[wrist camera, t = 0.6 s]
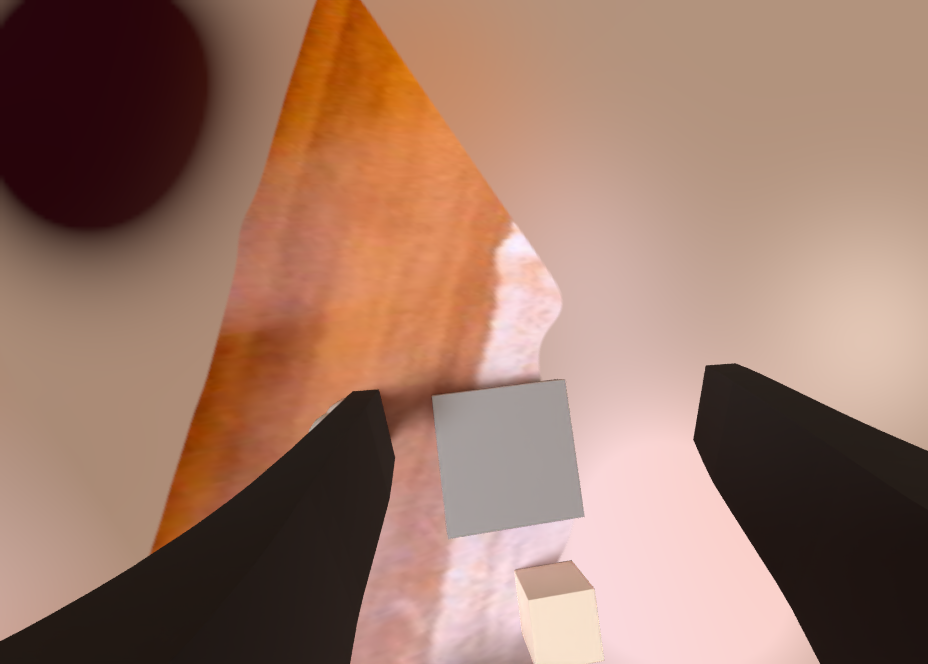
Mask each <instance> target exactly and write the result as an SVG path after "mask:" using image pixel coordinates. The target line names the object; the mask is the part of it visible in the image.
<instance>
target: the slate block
mask: <svg viewBox="0 0 928 664" xmlns="http://www.w3.org/2000/svg"><path fill="white" fill-rule="evenodd" d="M431 396H432V405H433V414H434V422H435V431H436V440H437V449H438V458H439V467H440V476H441V485H442V493H443V502H444V511H445V520H446V529H447V535H448V539H451V538H457V537H464V536H470V535H476V534H482V533H488V532H494V531H500V530H506V529H512V528H519V527H525V526H531V525H537V524H543V523H549V522H555V521H561V520H567V519H573V518H579V517H584V511H583V504H582V496H581V488H580V481H579V475H578V469H577V461H576V453H575V447H574V439H573V432H572V426H571V419H570V412H569V404H568V397H567V390H566V384H565V380H564V379H559V380H558V379H554V380H546V381H540V382H532V383H524V384H516V385H509V386H501V387H493V388H485V389H477V390H469V391H461V392H453V393H445V394H437V395H431Z"/></svg>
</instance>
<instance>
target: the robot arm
mask: <svg viewBox="0 0 928 664" xmlns="http://www.w3.org/2000/svg"><path fill="white" fill-rule="evenodd" d="M693 440H694V442H695V444H696V447H697V449H698V451H699V454H700V456H701V458H702V461H703V463H704V465H705V467H706V469H707V471H708V473H709V475H710V477H711V479H712V481H713V483H714V485H715V486H716V488H717V490H718V491H719V493H720V495H721V496H722V498H723V499H724V501H725V503H726V504H727V506H728V507H729V509H730V511H731V512H732V514H733V515H734V517H735V518H736V520H737V521H738V523H739V525H740V526H741V528H742V529H743V531H744V532H745V534H746V536H747V537H748V539H749V540H750V542H751V544H752V545H753V546H754V548H755V550H756V551H757V553H758V554H759V556H760V558H761V559H762V561H763V562H764V564H765V565H766V567H767V568H768V570H769V572H770V573H771V575H772V576H773V578H774V580H775V581H776V583H777V584H778V586H779V588H780V590H781V591H782V593H783V595H784V596H785V598H786V600H787V601H788V603H789V605H790V606H791V608H792V610H793V612H794V614H795V616H796V618H797V620H798V622H799V624H800V626H801V628H802V629H803V631H804V633H805V635H806V637H807V639H808V641H809V643H810V645H811V647H812V649H813V651H814V653H815V655H816V656H817V659H818V660H819V662H820V664H928V451H927V450H924V449H922V448H919V447H917V446H915V445H913V444H910V443H908V442H906V441H903V440H901V439H899V438H896V437H894V436H892V435H890V434H887V433H885V432H882V431H880V430H878V429H876V428H874V427H871V426H869V425H867V424H865V423H862V422H860V421H858V420H856V419H854V418H852V417H849V416H847V415H845V414H843V413H841V412H839V411H837V410H835V409H833V408H830V407H828V406H826V405H824V404H822V403H820V402H818V401H816V400H814V399H812V398H810V397H808V396H805V395H803V394H801V393H799V392H797V391H795V390H793V389H791V388H789V387H787V386H785V385H783V384H781V383H779V382H777V381H774V380H772V379H770V378H768V377H766V376H764V375H762V374H760V373H757V372H755V371H753V370H751V369H748V368H746V367H743V366H741V365H738V364H735V363H734V364H721V365H707V366H706V367H705V373H704V380H703V385H702V391H701V397H700V403H699V409H698V415H697V421H696V427H695V433H694V439H693ZM394 462H395V455H394V451H393V447H392V443H391V439H390V434H389V430H388V426H387V422H386V418H385V413H384V409H383V405H382V401H381V396H380V392H379V390H366V391H353V392H352V393H351V394H349V395H348V396H347V397H346V398H345V399H344V400H343V401H342V402H341V403H339V404H338V405H337V406H336V407H335V408H334V409H333V410H332V411H331V412H330V413H329V414H328V415H327V416H326V417H325V418H324V419H323V420H322V421H321V422H320V423H319V424H317V425H316V426H315V427H314V428H313V429H312V430H311V431H310V432H309V433H308V434H307V435H306V436H305V437H304V438H302V439H301V440H300V441H299V442H298V443H297V444H296V445H295V446H294V447H293V448H292V449H291V450H289V451H288V452H287V453H286V454H285V455H284V456H282V457H281V458H280V459H279V460H278V461H277V462H275V463H274V464H273V465H272V466H271V467H270V468H268V469H267V470H266V471H265V472H264V473H263V474H262V475H260V476H259V477H258V478H257V479H256V480H255V481H253V482H252V483H251V484H250V485H248V486H247V487H246V488H245V489H243V490H242V491H241V492H240V493H238V494H237V495H236V496H235V497H233V498H232V499H231V500H229V501H228V502H227V503H225V504H224V505H223V506H221V507H220V508H219V509H217V510H216V511H214V512H213V513H212V514H210V515H209V516H208V517H206V518H205V519H204V520H202V521H201V522H199V523H198V524H197V525H195V526H194V527H192V528H191V529H189V530H188V531H186V532H185V533H183V534H182V535H180V536H179V537H177V538H176V539H174V540H173V541H171V542H170V543H168V544H166V545H165V546H163V547H162V548H160V549H159V550H157V551H156V552H154V553H153V554H151V555H150V556H148V557H147V558H145V559H144V560H142V561H140V562H139V563H137V564H136V565H134V566H133V567H131V568H130V569H128V570H126V571H125V572H123V573H121V574H120V575H118V576H116V577H115V578H113V579H111V580H110V581H108V582H106V583H105V584H103V585H101V586H100V587H98V588H97V589H95V590H93V591H91V592H90V593H88V594H86V595H84V596H83V597H81V598H79V599H77V600H75V601H74V602H72V603H70V604H68V605H67V606H65V607H63V608H61V609H60V610H58V611H56V612H54V613H52V614H51V615H49V616H47V617H45V618H43V619H42V620H40V621H38V622H36V623H34V624H32V625H30V626H29V627H27V628H25V629H23V630H21V631H19V632H18V633H16V634H13V635H12V636H10V637H8V638H6V639H4V640H2V641H0V664H350V661H351V655H352V649H353V643H354V638H355V632H356V626H357V621H358V617H359V612H360V608H361V604H362V599H363V595H364V592H365V588H366V584H367V581H368V577H369V573H370V570H371V566H372V562H373V559H374V555H375V551H376V548H377V544H378V540H379V537H380V533H381V529H382V525H383V522H384V518H385V514H386V510H387V506H388V502H389V498H390V492H391V485H392V478H393V470H394Z"/></svg>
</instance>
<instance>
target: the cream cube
mask: <svg viewBox="0 0 928 664" xmlns="http://www.w3.org/2000/svg"><path fill="white" fill-rule="evenodd" d="M514 573H515V581H516V589H517V597H518V606H519V614H520V622H521V631H522V635H523V638H524V640H525V643H526V645H527V648H528V651H529V653H530V656H531V658H532V661H533V664H589V663H594V662H600V661H604V655H603V648H602V641H601V634H600V626H599V619H598V611H597V604H596V597H595V590H594V588H593V586H592V585H591V584H590V583H589V581H588V580H587V579H586V578H585V576H584V575H583V574H582V573H581V572H580V570H579V569H578V568H577V567H576V566H575V564H574V563H573V562H572V560H570V561H564V562H558V563H555V564H549V565H543V566H537V567H531V568H525V569H519V570H514Z"/></svg>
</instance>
